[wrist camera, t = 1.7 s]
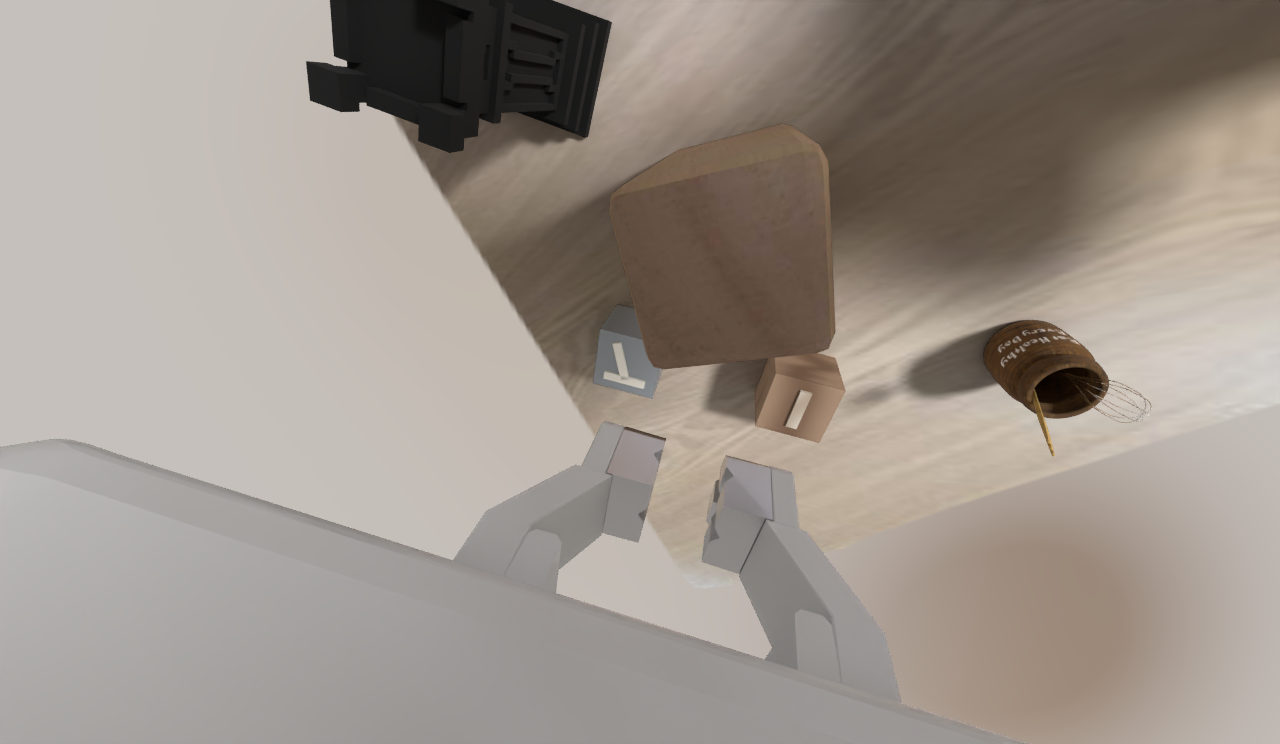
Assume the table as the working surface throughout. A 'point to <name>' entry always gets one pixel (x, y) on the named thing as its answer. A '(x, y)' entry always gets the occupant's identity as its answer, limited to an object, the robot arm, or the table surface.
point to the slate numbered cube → (624, 355)
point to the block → (730, 250)
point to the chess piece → (463, 63)
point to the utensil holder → (1048, 372)
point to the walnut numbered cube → (798, 395)
